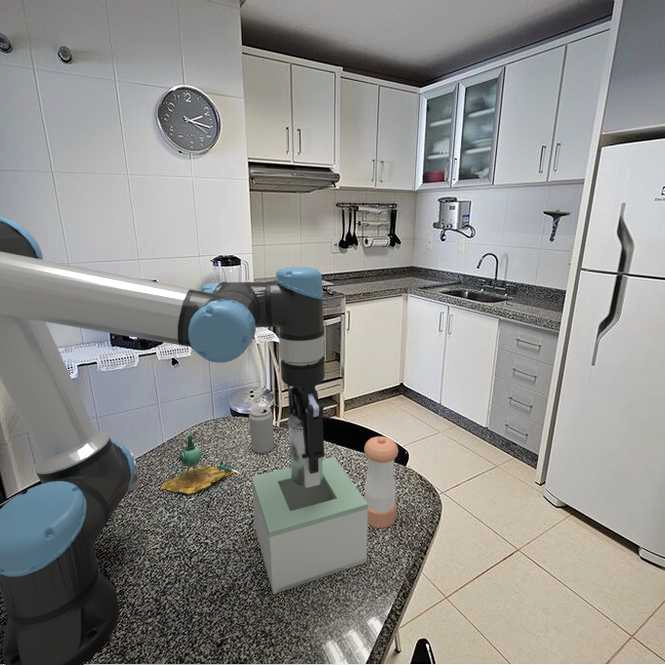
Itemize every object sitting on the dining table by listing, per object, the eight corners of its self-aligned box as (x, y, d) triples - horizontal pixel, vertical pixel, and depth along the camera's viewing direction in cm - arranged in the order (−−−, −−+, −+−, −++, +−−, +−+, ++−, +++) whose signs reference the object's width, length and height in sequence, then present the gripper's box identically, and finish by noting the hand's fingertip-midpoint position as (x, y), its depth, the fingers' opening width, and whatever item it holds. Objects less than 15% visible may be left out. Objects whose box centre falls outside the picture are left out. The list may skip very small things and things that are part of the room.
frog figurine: (235, 491, 96) (222, 437, 91) (157, 507, 93) (141, 453, 89) (237, 467, 105) (226, 417, 100) (166, 481, 102) (151, 431, 98)
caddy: (273, 594, 69) (269, 532, 65) (255, 530, 83) (251, 476, 80) (366, 562, 75) (367, 504, 72) (335, 507, 90) (334, 456, 86)
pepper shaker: (367, 530, 83) (368, 449, 78) (359, 506, 90) (360, 430, 85) (400, 525, 84) (404, 445, 79) (390, 502, 91) (393, 427, 86)
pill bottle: (120, 482, 99) (115, 452, 97) (141, 478, 100) (136, 449, 98) (116, 494, 95) (110, 463, 92) (137, 490, 96) (132, 460, 94)
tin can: (296, 489, 71) (293, 429, 68) (287, 470, 77) (284, 414, 73) (328, 481, 73) (326, 422, 70) (317, 463, 79) (315, 408, 75)
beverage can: (269, 456, 109) (267, 416, 106) (247, 453, 111) (244, 414, 107) (277, 443, 115) (275, 406, 112) (256, 441, 117) (254, 404, 113)
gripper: (344, 374, 61) (345, 501, 68) (306, 341, 78) (309, 445, 85) (297, 381, 59) (302, 513, 65) (268, 345, 76) (275, 452, 82)
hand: (306, 474), depth 75 cm, fingers closed on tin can, 6 cm apart
